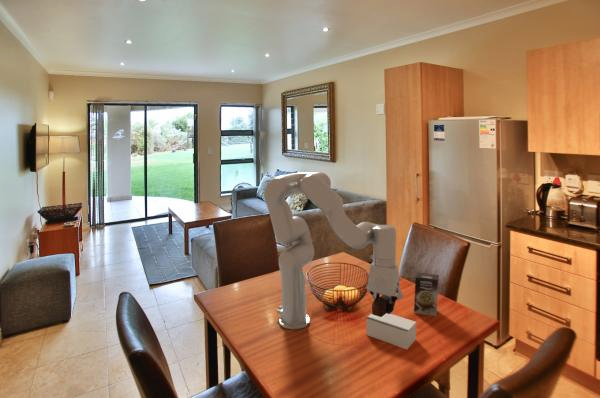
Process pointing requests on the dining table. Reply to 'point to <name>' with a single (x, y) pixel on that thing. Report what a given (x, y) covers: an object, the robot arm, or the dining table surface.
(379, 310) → the brick
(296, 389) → the dining table surface
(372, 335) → the step
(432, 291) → the coffee box
